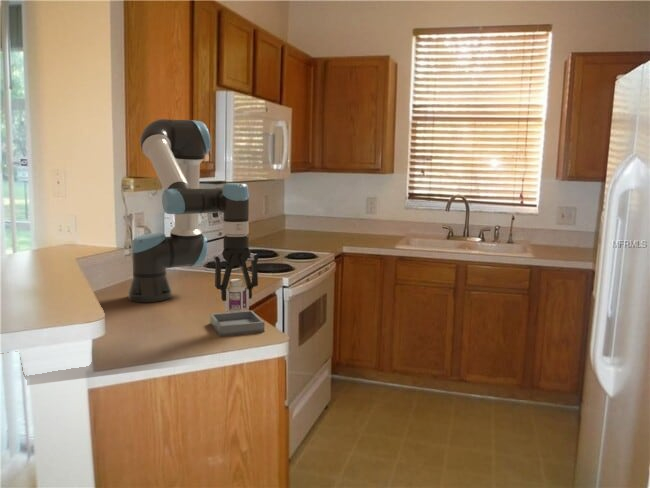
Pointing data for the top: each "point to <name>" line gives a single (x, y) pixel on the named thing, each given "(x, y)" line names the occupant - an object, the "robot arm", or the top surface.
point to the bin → (236, 323)
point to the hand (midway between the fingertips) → (236, 309)
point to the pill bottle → (237, 296)
